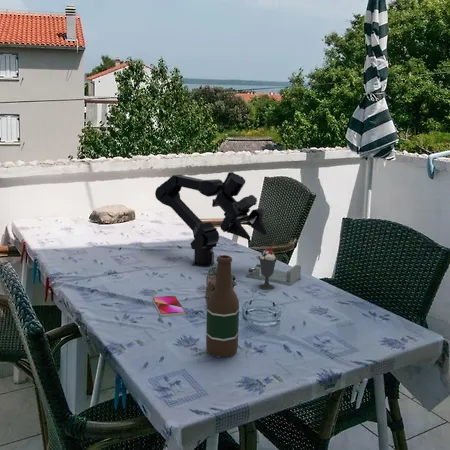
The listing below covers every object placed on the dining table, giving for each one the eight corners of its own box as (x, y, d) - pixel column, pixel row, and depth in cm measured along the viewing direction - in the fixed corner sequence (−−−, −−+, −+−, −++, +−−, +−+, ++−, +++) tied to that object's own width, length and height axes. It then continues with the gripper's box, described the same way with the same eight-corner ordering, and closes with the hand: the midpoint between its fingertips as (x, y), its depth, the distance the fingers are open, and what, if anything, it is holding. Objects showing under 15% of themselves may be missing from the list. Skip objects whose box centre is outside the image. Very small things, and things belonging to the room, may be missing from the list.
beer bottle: (205, 344, 138) (206, 252, 132) (236, 344, 138) (239, 252, 133) (206, 358, 130) (208, 261, 125) (239, 358, 131) (242, 261, 125)
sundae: (275, 291, 178) (277, 246, 175) (255, 289, 179) (257, 244, 176) (277, 284, 184) (280, 241, 181) (258, 282, 186) (259, 240, 182)
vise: (245, 276, 192) (246, 264, 191) (258, 269, 200) (258, 257, 199) (289, 285, 184) (290, 272, 183) (300, 277, 193) (301, 265, 192)
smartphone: (175, 295, 170) (186, 312, 156) (175, 298, 171) (186, 315, 157) (151, 297, 168) (160, 314, 154) (151, 300, 168) (160, 317, 154)
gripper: (222, 191, 182) (252, 223, 175) (257, 186, 195) (285, 215, 189) (208, 215, 188) (236, 247, 181) (242, 209, 201) (270, 238, 195)
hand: (258, 236), depth 187 cm, fingers open, 9 cm apart
